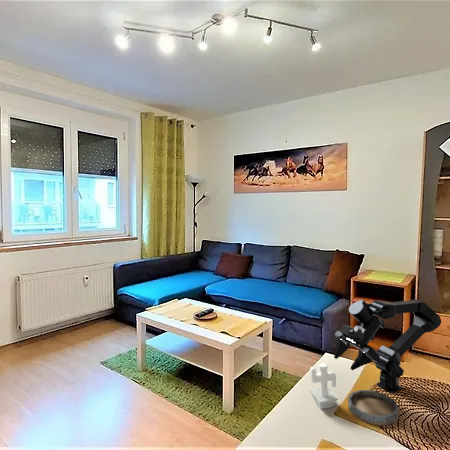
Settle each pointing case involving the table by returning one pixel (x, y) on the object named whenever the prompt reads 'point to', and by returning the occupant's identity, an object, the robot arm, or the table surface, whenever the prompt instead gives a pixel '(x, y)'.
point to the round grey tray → (371, 417)
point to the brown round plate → (373, 408)
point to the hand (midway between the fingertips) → (342, 363)
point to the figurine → (323, 386)
